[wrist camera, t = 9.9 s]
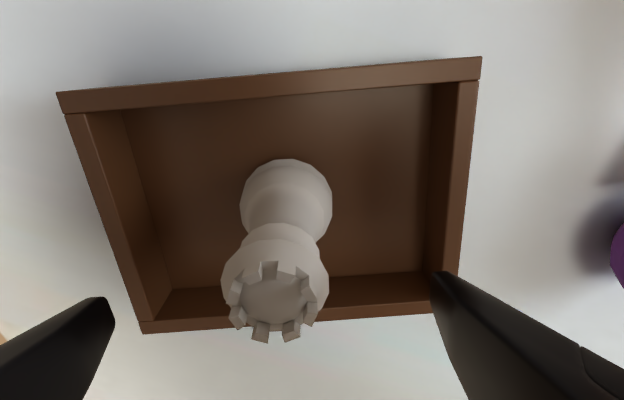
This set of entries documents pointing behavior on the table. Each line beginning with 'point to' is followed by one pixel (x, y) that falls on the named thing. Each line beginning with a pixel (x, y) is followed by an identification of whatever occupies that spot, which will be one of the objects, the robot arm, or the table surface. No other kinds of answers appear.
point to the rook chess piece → (279, 251)
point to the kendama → (618, 255)
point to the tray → (273, 146)
